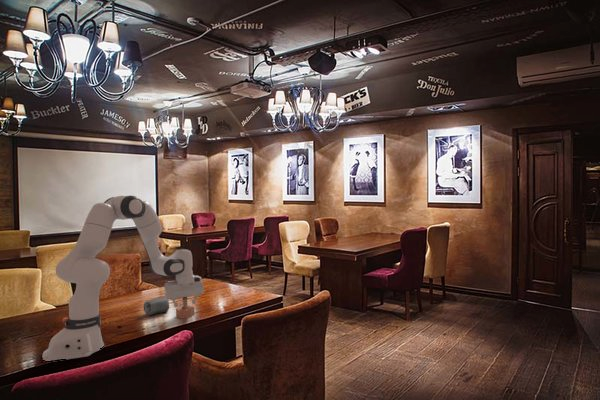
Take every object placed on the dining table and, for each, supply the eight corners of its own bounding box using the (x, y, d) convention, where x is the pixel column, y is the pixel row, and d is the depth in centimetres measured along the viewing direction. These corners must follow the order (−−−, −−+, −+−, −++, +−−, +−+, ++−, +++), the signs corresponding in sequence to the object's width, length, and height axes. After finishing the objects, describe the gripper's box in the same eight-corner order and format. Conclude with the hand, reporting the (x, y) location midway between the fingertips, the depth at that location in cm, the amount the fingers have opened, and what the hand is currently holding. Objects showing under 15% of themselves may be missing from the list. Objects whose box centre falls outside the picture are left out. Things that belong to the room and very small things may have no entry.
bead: (179, 319, 205) (179, 311, 205) (174, 314, 212) (174, 307, 212) (196, 315, 209) (195, 308, 209) (191, 311, 217) (191, 304, 217)
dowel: (183, 316, 209) (183, 297, 209) (182, 315, 211) (181, 296, 211) (188, 315, 210) (187, 296, 210) (187, 314, 212) (186, 295, 212)
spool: (146, 312, 206) (147, 293, 211) (140, 317, 212) (141, 298, 217) (172, 313, 214) (172, 295, 219) (165, 318, 220) (166, 300, 225)
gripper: (165, 283, 202) (166, 309, 203) (204, 277, 213) (205, 303, 213) (162, 280, 208) (163, 306, 208) (201, 275, 218) (201, 300, 219)
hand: (185, 304), depth 211 cm, fingers open, 8 cm apart
